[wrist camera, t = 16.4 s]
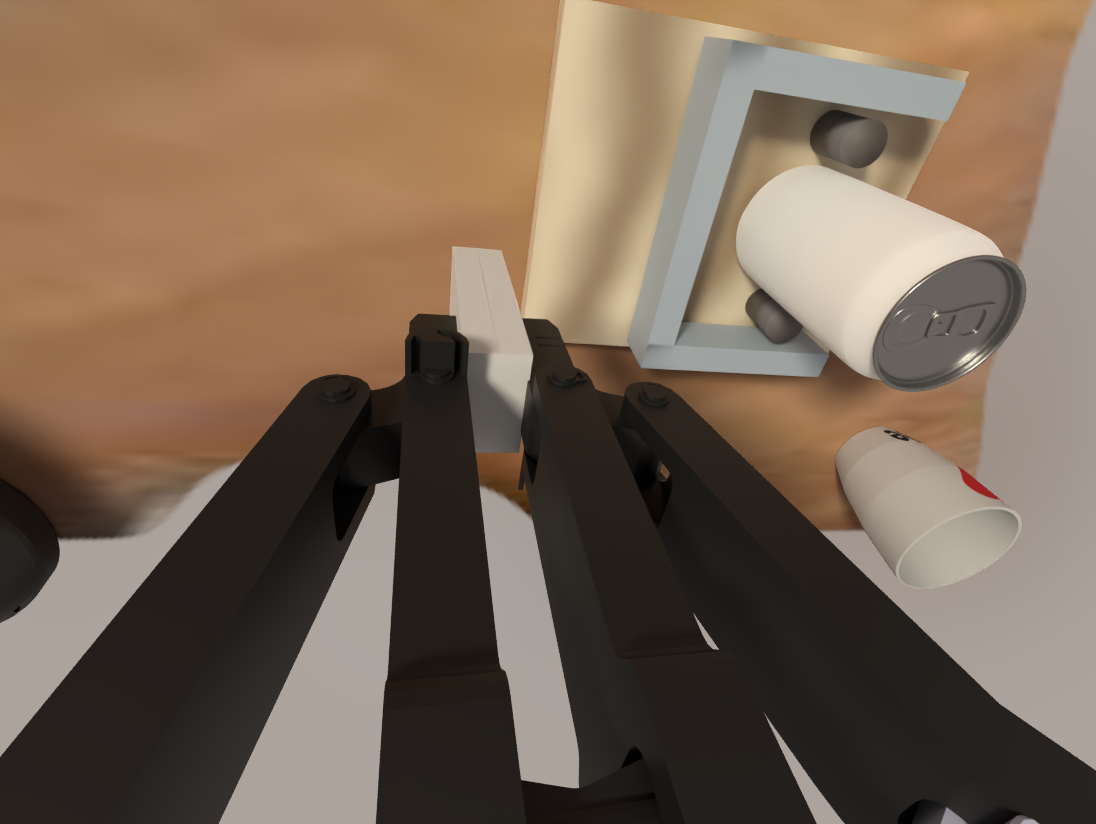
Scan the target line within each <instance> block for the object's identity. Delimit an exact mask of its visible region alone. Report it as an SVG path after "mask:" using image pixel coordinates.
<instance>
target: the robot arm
mask: <svg viewBox="0 0 1096 824" xmlns="http://www.w3.org/2000/svg"><path fill="white" fill-rule="evenodd" d="M521 436H522V440H523V444H524V453H523V459H522V466H521V472H520V479H519V487H518V490H523V485H524V483H525V484H526V489H527V494H528V499H529V504H530V509H531V514H532V519H533V524H534V529H535V534H536V538H537V544H538V549H539V553H540V559H541V564H542V569H543V574H544V578H545V584H546V589H547V593H548V598H549V603H550V608H551V613H552V618H553V623H554V628H555V633H556V638H557V642H558V647H559V653H560V658H561V663H562V668H563V672H564V678H565V683H566V688H567V692H568V697H569V702H570V708H571V713H572V718H573V722H574V727H575V732H576V737H577V743H578V749H579V788H566V787H560V786H554V785H548V784H541V783H535V782H529V781H523V780H521V776H520V769H519V760H518V752H517V744H516V736H515V728H514V720H513V712H512V704H511V696H510V689H509V683H508V679H507V675H506V672H505V671H504V670H502V669H501V667H500V664H499V657H498V649H497V640H496V631H495V622H494V614H493V604H492V595H491V586H490V578H489V568H488V560H487V551H486V542H485V533H484V524H483V515H482V506H481V498H480V488H479V479H478V470H477V461H476V453H519V450H520V443H521ZM662 464H664V465H665V467H666V468H667V469H668V471H669V472H670V475H669V477H668V479H666V478H665V477H664V476H663V475H662V473H661V472H660V470H661V467H662ZM398 478H399V491H398V509H397V510H398V511H397V526H396V543H395V561H394V578H393V596H392V612H391V613H392V614H391V629H390V647H389V665H388V676H387V680H386V683H385V691H384V703H383V718H382V735H381V750H380V766H379V782H378V799H377V815H376V824H816V821H815V819H814V817H813V815H812V813H811V811H810V809H809V807H808V805H807V802H806V800H805V798H804V796H803V794H802V792H801V790H800V788H799V786H798V784H797V781H796V779H795V777H794V776H793V773H792V771H791V769H790V767H789V765H788V763H787V760H786V759H785V756H784V754H783V752H782V750H781V748H780V746H779V744H778V741H777V740H776V737H775V735H774V733H773V731H772V729H771V727H770V725H769V723H768V721H767V718H768V719H769V721H770V722H771V723H772V725H773V726H774V728H775V729H776V730H777V732H778V733H779V735H780V736H781V737H782V739H783V740H784V742H785V743H786V745H787V746H788V747H789V749H790V750H791V752H792V753H793V754H794V756H795V757H796V759H797V760H798V762H799V763H800V764H801V766H802V767H803V769H804V770H805V771H806V773H807V774H808V776H809V777H810V779H811V780H812V781H813V783H814V784H815V785H816V787H817V788H818V790H819V791H820V792H821V793H822V795H823V796H824V797H825V799H826V800H827V801H828V803H829V804H830V805H831V807H832V808H833V809H834V810H835V812H836V813H837V814H838V816H839V817H840V818H841V820H842V821H843V822H844V823H845V824H1096V770H1094V769H1093V768H1091V767H1090V766H1088V765H1087V764H1085V763H1084V762H1083V761H1081V760H1080V759H1078V758H1077V757H1075V756H1074V755H1072V754H1071V753H1070V752H1068V751H1067V750H1065V749H1064V748H1062V747H1061V746H1059V745H1058V744H1057V743H1055V742H1054V741H1052V740H1051V739H1049V738H1048V737H1046V736H1045V735H1043V734H1042V733H1041V732H1039V731H1038V730H1036V729H1035V728H1033V727H1032V726H1030V725H1029V724H1028V723H1026V722H1025V721H1023V720H1022V719H1020V718H1019V717H1017V716H1016V715H1015V714H1013V713H1012V712H1010V711H1009V710H1007V709H1006V708H1005V707H1003V706H1002V705H1000V704H999V703H998V702H997V701H996V700H995V699H994V698H993V697H992V696H991V695H990V694H989V693H988V692H987V691H985V690H984V689H983V688H982V687H981V686H980V685H979V684H978V683H977V682H976V681H975V680H974V679H973V678H972V677H971V676H970V675H969V674H968V673H967V672H966V671H965V670H964V669H963V668H962V667H961V666H959V665H958V664H957V663H956V662H955V661H954V660H953V659H952V658H951V657H950V656H949V655H948V654H947V653H946V652H945V651H944V650H943V649H942V648H941V647H940V646H939V645H938V644H937V643H936V642H935V641H933V640H932V639H931V638H930V637H929V636H928V635H927V634H926V633H925V632H924V631H923V630H922V629H921V628H920V627H919V626H918V625H917V624H916V623H915V622H914V621H913V620H912V619H910V617H908V616H907V615H906V614H905V613H904V612H903V611H902V610H901V609H900V608H899V607H898V606H897V605H896V604H895V603H894V602H893V601H892V600H891V599H890V598H888V596H886V594H885V593H884V592H882V591H881V590H880V589H879V588H878V587H877V586H876V585H875V584H874V583H873V582H872V581H871V580H870V579H869V578H868V577H866V575H865V574H864V573H863V572H862V571H861V570H859V568H858V567H856V566H855V565H854V564H853V563H852V562H851V561H850V560H849V559H848V558H847V557H846V556H845V555H844V554H843V553H842V552H841V551H840V550H839V549H838V548H837V547H836V546H835V545H834V544H833V543H831V541H829V540H828V539H827V538H826V537H825V536H824V535H823V534H822V533H821V532H820V531H819V530H818V529H817V528H816V527H815V526H814V525H813V524H812V523H811V522H810V521H809V520H808V519H807V518H806V517H805V516H803V515H802V514H801V513H800V512H799V511H798V510H797V509H796V508H795V507H794V506H793V505H792V504H791V503H790V502H789V501H788V500H787V499H786V498H785V497H784V496H783V495H782V494H781V493H780V492H778V491H777V490H776V489H775V488H774V487H773V486H772V485H771V484H770V483H769V482H768V481H767V480H766V479H765V478H764V477H763V476H762V475H761V474H760V473H759V472H758V471H757V470H756V469H755V468H754V467H752V466H751V465H750V464H749V463H748V462H747V461H746V460H745V459H744V458H743V457H742V456H741V455H740V454H739V453H738V452H737V451H736V450H735V449H734V448H733V447H732V446H731V445H730V444H729V443H728V442H726V441H725V440H724V439H723V438H722V437H721V436H720V435H719V434H718V433H717V432H716V431H715V430H714V429H713V428H712V427H711V426H710V425H709V424H708V423H707V422H706V421H705V420H704V419H703V418H702V417H700V416H699V415H698V414H697V413H696V412H695V411H694V410H693V409H692V408H691V407H690V406H689V405H688V404H687V403H686V402H685V401H684V400H683V399H682V398H681V397H680V396H679V395H678V394H676V393H675V392H673V391H672V390H671V389H669V388H667V387H664V386H662V385H661V384H658V383H653V382H637V383H633V384H630V385H629V386H628V387H627V388H626V391H625V394H624V397H622V396H618V395H613V394H609V393H605V392H601V391H598V390H596V389H595V387H594V385H593V383H592V381H591V379H590V378H589V376H588V375H587V374H586V373H584V372H583V371H581V370H580V369H578V368H575V367H574V366H573V364H572V361H571V359H570V356H569V354H568V351H567V349H566V347H565V344H564V342H563V340H562V337H561V334H560V332H559V329H558V328H557V327H556V326H555V325H554V324H552V323H551V322H550V321H549V320H548V319H532V318H522V317H521V314H520V310H519V307H518V304H517V300H516V297H515V294H514V291H513V287H512V284H511V281H510V277H509V274H508V271H507V268H506V264H505V261H504V258H503V254H502V251H501V250H491V249H479V248H467V247H455V246H453V248H452V271H451V293H450V315H433V314H418V315H416V316H415V317H414V318H413V319H412V320H411V321H410V327H409V334H408V336H407V338H406V340H405V377H404V378H403V379H402V380H401V381H399V382H398V383H396V384H394V385H392V386H390V387H386V388H382V389H378V390H371V389H370V387H369V385H368V384H367V383H366V382H364V381H363V380H361V379H360V378H357V377H353V376H349V375H339V374H336V375H327V376H322V377H320V378H317V379H314V380H312V381H310V382H309V383H307V384H306V385H305V386H304V387H303V388H302V389H301V390H300V391H299V393H298V394H297V395H296V396H295V397H294V399H293V400H292V401H291V402H290V404H289V405H288V406H287V407H286V408H285V410H284V411H283V412H282V413H281V415H280V416H279V417H278V418H277V419H276V421H275V422H274V423H273V424H272V426H271V427H270V428H269V429H268V430H267V432H266V433H265V434H264V435H263V437H262V438H261V439H260V440H259V441H258V443H257V444H256V445H255V446H254V448H253V449H252V450H251V451H250V452H249V454H248V455H247V456H246V457H245V459H244V460H243V461H242V462H241V463H240V465H239V466H238V467H237V468H236V470H235V471H234V472H233V473H232V474H231V476H230V477H229V478H228V479H227V481H226V482H225V483H224V484H223V486H222V487H221V488H220V489H219V490H218V492H217V493H216V494H215V495H214V497H213V498H212V499H211V500H210V501H209V503H208V504H207V505H206V506H205V507H204V509H203V510H202V511H201V512H200V514H199V515H198V516H197V517H196V519H195V520H194V521H193V522H192V523H191V525H190V526H189V527H188V528H187V530H186V531H185V532H184V533H183V534H182V536H181V537H180V538H179V539H178V540H177V542H176V543H175V544H174V545H173V547H172V548H171V549H170V550H169V551H168V553H167V554H166V555H165V556H164V558H163V559H162V560H161V561H160V562H159V564H158V565H157V566H156V567H155V569H154V570H153V571H152V572H151V574H150V575H149V576H148V577H147V578H146V580H145V581H144V582H143V583H142V584H141V586H140V587H139V588H138V589H137V590H136V592H135V593H134V594H133V595H132V597H131V598H130V599H129V600H128V601H127V603H126V604H125V605H124V606H123V608H122V609H121V610H120V611H119V612H118V614H117V615H116V616H115V617H114V619H113V620H112V621H111V622H110V624H109V625H108V626H107V627H106V628H105V630H104V631H103V632H102V633H101V634H100V636H99V637H98V638H97V639H96V641H95V642H94V643H93V644H92V645H91V647H90V648H89V649H88V650H87V652H86V653H85V654H84V655H83V656H82V658H81V659H80V660H79V661H78V663H77V664H76V665H75V666H74V667H73V669H72V670H71V671H70V672H69V674H68V675H67V676H66V677H65V678H64V680H63V681H62V682H61V684H60V685H59V686H58V687H57V688H56V689H55V691H54V692H53V693H52V694H51V696H50V697H49V698H48V700H46V702H45V703H44V704H43V705H42V707H41V708H40V709H39V710H38V712H37V713H36V714H35V715H34V716H33V718H32V719H31V720H30V721H29V723H28V724H27V725H26V726H25V727H24V729H23V730H22V731H21V732H20V733H19V735H18V736H17V737H16V738H15V740H14V741H13V742H12V743H11V744H10V746H9V747H8V748H7V749H6V751H5V752H4V753H3V754H2V755H1V757H0V824H219V822H220V820H221V817H222V815H223V813H224V811H225V809H226V807H227V805H228V803H229V800H230V798H231V796H232V794H233V792H234V790H235V788H236V786H237V784H238V781H239V779H240V777H241V775H242V773H243V771H244V768H245V766H246V764H247V762H248V760H249V758H250V756H251V754H252V752H253V750H254V747H255V745H256V743H257V741H258V739H259V737H260V735H261V732H262V730H263V728H264V726H265V724H266V722H267V720H268V718H269V716H270V713H271V711H272V709H273V707H274V705H275V703H276V700H277V699H278V696H279V694H280V692H281V690H282V688H283V686H284V684H285V682H286V679H287V677H288V675H289V673H290V671H291V669H292V667H293V664H294V662H295V660H296V658H297V656H298V654H299V652H300V650H301V647H302V645H303V643H304V641H305V639H306V637H307V634H308V633H309V630H310V628H311V626H312V624H313V622H314V620H315V618H316V615H317V613H318V611H319V609H320V607H321V605H322V603H323V601H324V599H325V597H326V594H327V592H328V590H329V588H330V586H331V584H332V582H333V579H334V577H335V575H336V573H337V571H338V569H339V567H340V565H341V562H342V560H343V558H344V556H345V554H346V552H347V550H348V547H349V546H350V543H351V541H352V539H353V537H354V535H355V533H356V531H357V529H358V526H359V524H360V522H361V520H362V518H363V516H364V513H365V511H366V509H367V507H368V505H369V503H370V501H371V499H372V497H373V495H374V491H375V484H378V483H382V482H386V481H390V480H394V479H398ZM59 552H60V550H59V543H58V540H57V537H56V534H55V532H54V530H53V528H52V527H51V525H50V523H49V522H48V521H47V519H46V518H45V517H44V516H43V515H42V513H41V512H40V511H39V510H38V509H37V508H36V507H35V506H34V505H33V504H32V503H30V502H29V501H28V500H27V499H26V498H24V497H23V496H22V495H21V494H19V493H18V492H16V491H15V490H14V489H12V488H11V487H9V486H7V485H6V484H4V483H3V482H1V481H0V623H1V622H3V621H5V620H7V619H9V618H11V617H13V616H14V615H15V614H17V613H18V612H20V611H21V610H22V609H23V608H25V607H26V606H27V605H28V604H29V603H30V602H31V601H32V600H33V599H34V598H35V597H36V596H37V594H38V593H39V592H40V590H41V589H42V587H43V586H44V584H45V583H46V582H47V580H48V579H49V577H50V576H51V574H52V573H53V572H54V570H55V568H56V567H57V564H58V561H59V554H60V553H59ZM693 613H694V614H695V616H696V617H697V619H698V620H699V621H700V623H701V624H702V626H703V627H704V629H705V630H706V631H707V633H708V634H709V636H710V637H711V638H712V640H713V641H714V643H715V644H716V646H717V647H718V648H719V650H714V649H712V648H711V647H710V646H709V645H708V644H707V642H706V641H705V639H704V637H703V635H702V633H701V630H700V628H699V626H698V623H697V621H696V619H695V617H694V614H693ZM764 713H765V714H764ZM765 715H766V716H767V718H766V716H765Z"/></svg>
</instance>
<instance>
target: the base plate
mask: <svg viewBox="0 0 1096 824" xmlns="http://www.w3.org/2000/svg"><path fill="white" fill-rule="evenodd" d="M705 36H706V37H715V38H723V39H732V40H738V41H743V42H749V43H754V44H759V45H765V46H770V47H776V48H781V49H787V50H792V51H797V52H803V53H808V54H814V55H819V56H825V57H830V58H836V59H841V60H846V61H852V62H857V63H863V64H868V65H874V66H879V67H885V68H890V69H895V70H901V71H906V72H912V73H917V74H923V75H928V76H933V77H939V78H944V79H950V80H955V81H961V82H965V80H966V78H967V76H968V74H969V72H967V71H962V70H957V69H951V68H946V67H941V66H935V65H930V64H925V63H920V62H914V61H909V60H904V59H898V58H893V57H888V56H882V55H877V54H872V53H867V52H861V51H856V50H851V49H845V48H840V47H835V46H829V45H824V44H819V43H814V42H808V41H803V40H798V39H792V38H787V37H782V36H776V35H771V34H766V33H761V32H755V31H750V30H745V29H739V28H734V27H729V26H724V25H718V24H713V23H708V22H702V21H697V20H692V19H686V18H681V17H676V16H671V15H665V14H660V13H655V12H649V11H644V10H639V9H633V8H628V7H623V6H618V5H612V4H607V3H602V2H596V1H591V0H560V3H559V11H558V19H557V27H556V35H555V43H554V51H553V59H552V67H551V75H550V83H549V91H548V99H547V107H546V115H545V123H544V131H543V139H542V146H541V154H540V162H539V170H538V178H537V186H536V194H535V202H534V210H533V218H532V226H531V234H530V242H529V250H528V258H527V266H526V274H525V282H524V290H523V298H522V306H521V317H522V318H532V319H548V320H549V321H550V322H551V323H552V324H554V325H555V326H556V327H557V328H558V329H559V332H560V334H561V337H562V340H563V342H564V343H578V344H595V345H612V346H629V344H628V343H627V339H628V335H629V331H630V327H631V323H632V319H633V315H634V311H635V307H636V304H637V300H638V296H639V292H640V288H641V284H642V280H643V276H644V272H645V268H646V264H647V261H648V257H649V253H650V249H651V245H652V241H653V237H654V233H655V229H656V225H657V221H658V218H659V214H660V210H661V206H662V202H663V198H664V194H665V190H666V186H667V182H668V178H669V175H670V171H671V167H672V163H673V159H674V155H675V151H676V147H677V143H678V139H679V135H680V132H681V128H682V124H683V120H684V116H685V112H686V108H687V104H688V100H689V96H690V92H691V89H692V85H693V81H694V77H695V73H696V69H697V65H698V61H699V57H700V53H701V49H702V46H703V42H704V38H705ZM944 122H945V121H942V120H936V119H930V118H924V117H918V116H912V115H906V114H899V113H893V112H887V111H881V110H875V109H869V108H863V107H857V106H851V105H845V104H839V103H833V102H827V101H821V100H815V99H809V98H803V97H797V96H791V95H785V94H779V93H773V92H767V91H760V90H754V92H753V95H752V98H751V102H750V105H749V108H748V111H747V114H746V117H745V121H744V124H743V127H742V130H741V133H740V137H739V140H738V143H737V146H736V149H735V153H734V156H733V159H732V162H731V165H730V169H729V172H728V175H727V178H726V181H725V184H724V188H723V191H722V194H721V197H720V200H719V204H718V207H717V210H716V213H715V216H714V220H713V223H712V226H711V229H710V232H709V236H708V239H707V242H706V245H705V248H704V252H703V255H702V258H701V261H700V264H699V267H698V271H697V274H696V277H695V280H694V283H693V287H692V290H691V293H690V296H689V299H688V303H687V306H686V309H685V312H684V315H683V319H682V322H693V323H707V324H721V325H735V326H749V327H760V328H761V329H762V330H763V331H764V332H765V333H766V334H767V336H768V337H769V338H770V339H771V340H772V341H774V342H776V343H785V342H788V341H790V340H792V339H794V338H795V337H796V336H797V335H798V334H799V333H800V332H801V330H803V331H804V332H805V333H806V334H807V335H808V336H809V337H810V338H812V339H813V340H814V341H815V342H816V343H817V344H818V345H819V346H820V347H821V348H822V349H824V350H825V351H826V352H827V353H829V351H830V350H829V349H828V348H827V347H826V346H825V345H824V344H823V343H822V342H821V341H819V340H818V339H817V338H816V337H815V336H814V335H813V334H812V333H811V332H809V331H808V330H807V329H806V328H805V327H804V326H803V325H802V324H801V323H799V322H798V321H797V320H796V319H795V318H794V317H793V316H792V315H791V314H789V313H788V312H787V311H786V310H785V309H784V308H783V307H782V306H781V305H780V304H778V303H777V302H776V301H775V300H774V299H773V298H772V297H771V296H770V295H769V294H768V293H766V292H765V291H764V290H763V289H762V288H761V287H760V286H759V285H758V284H757V283H756V282H755V281H753V280H752V279H751V278H750V277H749V276H748V275H747V273H746V272H745V271H744V270H743V268H742V267H741V265H740V263H739V260H738V257H737V252H736V234H737V228H738V224H739V221H740V219H741V216H742V214H743V212H744V210H745V209H746V207H747V206H748V204H749V203H750V201H751V200H752V198H753V197H754V196H755V195H756V193H757V192H758V191H759V190H760V189H761V188H762V187H763V186H764V185H766V184H767V183H768V182H769V181H770V180H772V179H773V178H775V177H776V176H778V175H780V174H781V173H783V172H785V171H788V170H790V169H793V168H796V167H800V166H805V165H818V166H824V167H827V168H830V169H833V170H835V171H838V172H840V173H843V174H845V175H848V176H850V177H853V178H855V179H857V180H860V181H862V182H865V183H867V184H869V185H872V186H874V187H876V188H879V189H881V190H884V191H886V192H888V193H891V194H893V195H895V196H898V197H900V198H902V199H906V197H907V195H908V193H909V191H910V189H911V187H912V185H913V183H914V181H915V179H916V177H917V176H918V174H919V172H920V170H921V168H922V166H923V164H924V162H925V160H926V158H927V156H928V154H929V152H930V150H931V148H932V146H933V144H934V142H935V140H936V138H937V136H938V134H939V132H940V130H941V128H942V126H943V124H944ZM629 347H630V346H629Z"/></svg>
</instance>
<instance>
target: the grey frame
mask: <svg viewBox="0 0 1096 824" xmlns="http://www.w3.org/2000/svg"><path fill="white" fill-rule="evenodd" d="M965 85H966V82H961V81H955V80H950V79H944V78H939V77H933V76H928V75H923V74H917V73H912V72H906V71H901V70H895V69H890V68H885V67H879V66H874V65H868V64H863V63H857V62H852V61H846V60H841V59H836V58H830V57H825V56H819V55H814V54H808V53H803V52H797V51H792V50H787V49H781V48H776V47H770V46H765V45H759V44H754V43H749V42H743V41H738V40H732V39H723V38H715V37H706V36H705V38H704V42H703V46H702V49H701V53H700V57H699V61H698V65H697V69H696V73H695V77H694V81H693V85H692V89H691V92H690V96H689V100H688V104H687V108H686V112H685V116H684V120H683V124H682V128H681V132H680V135H679V139H678V143H677V147H676V151H675V155H674V159H673V163H672V167H671V171H670V175H669V178H668V182H667V186H666V190H665V194H664V198H663V202H662V206H661V210H660V214H659V218H658V221H657V225H656V229H655V233H654V237H653V241H652V245H651V249H650V253H649V257H648V261H647V264H646V268H645V272H644V276H643V280H642V284H641V288H640V292H639V296H638V300H637V304H636V307H635V311H634V315H633V319H632V323H631V327H630V331H629V335H628V339H627V343H628V344H629V346H630V348H631V350H632V352H633V354H634V356H635V358H636V360H637V362H638V363H639V365H640V367H641V368H651V369H670V370H689V371H709V372H728V373H747V374H767V375H786V376H806V377H819V375H820V373H821V371H822V369H823V367H824V365H825V363H826V361H827V359H828V357H829V354H828V353H827V352H826V351H825V350H824V349H822V348H821V347H820V346H819V345H818V344H817V343H816V342H815V341H814V340H813V339H812V338H810V337H809V336H808V335H807V334H806V333H805V332H804V331H803V330H801V332H800V333H799V334H798V335H797V336H796V337H795V338H794V339H792V340H790V341H788V342H785V343H776V342H774V341H772V340H771V339H770V338H769V337H768V336H767V334H766V333H765V332H764V331H763V330H762V329H761V328H760V327H749V326H735V325H721V324H707V323H693V322H682V319H683V315H684V312H685V309H686V306H687V303H688V299H689V296H690V293H691V290H692V287H693V283H694V280H695V277H696V274H697V271H698V267H699V264H700V261H701V258H702V255H703V252H704V248H705V245H706V242H707V239H708V236H709V232H710V229H711V226H712V223H713V220H714V216H715V213H716V210H717V207H718V204H719V200H720V197H721V194H722V191H723V188H724V184H725V181H726V178H727V175H728V172H729V169H730V165H731V162H732V159H733V156H734V153H735V149H736V146H737V143H738V140H739V137H740V133H741V130H742V127H743V124H744V121H745V117H746V114H747V111H748V108H749V105H750V102H751V98H752V95H753V92H754V90H760V91H767V92H773V93H779V94H785V95H791V96H797V97H803V98H809V99H815V100H821V101H827V102H833V103H839V104H845V105H851V106H857V107H863V108H869V109H875V110H881V111H887V112H893V113H899V114H906V115H912V116H918V117H924V118H930V119H936V120H942V121H948V119H949V117H950V115H951V113H952V111H953V109H954V107H955V105H956V103H957V101H958V99H959V97H960V95H961V93H962V91H963V89H964V87H965Z"/></svg>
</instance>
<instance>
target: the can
mask: <svg viewBox="0 0 1096 824" xmlns="http://www.w3.org/2000/svg"><path fill="white" fill-rule="evenodd" d="M736 252H737V257H738V260H739V263H740V265H741V267H742V268H743V270H744V271H745V272H746V273H747V275H748V276H749V277H750V278H751V279H752V280H753V281H755V282H756V283H757V284H758V285H759V286H760V287H761V288H762V289H763V290H764V291H765V292H766V293H768V294H769V295H770V296H771V297H772V298H773V299H774V300H775V301H776V302H777V303H778V304H780V305H781V306H782V307H783V308H784V309H785V310H786V311H787V312H788V313H789V314H791V315H792V316H793V317H794V318H795V319H796V320H797V321H798V322H799V323H801V324H802V325H803V326H804V327H805V328H806V329H807V330H808V331H809V332H811V333H812V334H813V335H814V336H815V337H816V338H817V339H818V340H819V341H821V342H822V343H823V344H824V345H825V346H826V347H827V348H828V349H829V350H831V351H832V352H833V353H834V354H835V355H836V356H837V357H839V358H840V359H841V360H842V361H843V362H844V363H846V364H847V365H848V366H849V367H850V368H852V369H853V370H855V371H856V372H858V373H859V374H861V375H863V376H866V377H869V378H872V379H876V380H881V381H883V382H884V383H885V384H886V385H888V386H889V387H891V388H894V389H896V390H900V391H906V392H919V391H926V390H931V389H935V388H938V387H941V386H944V385H946V384H949V383H951V382H953V381H955V380H957V379H959V378H961V377H963V376H964V375H966V374H968V373H969V372H971V371H972V370H974V369H975V368H977V367H978V366H979V365H981V364H982V363H983V362H984V361H985V360H987V359H988V358H989V357H990V356H991V355H992V354H993V353H994V352H995V351H996V350H997V349H998V348H999V347H1000V346H1001V345H1002V344H1003V342H1004V341H1005V340H1006V339H1007V337H1008V336H1009V335H1010V333H1011V332H1012V330H1013V328H1014V327H1015V325H1016V323H1017V321H1018V319H1019V317H1020V315H1021V313H1022V310H1023V307H1024V303H1025V298H1026V283H1025V279H1024V276H1023V274H1022V272H1021V270H1020V269H1019V268H1018V267H1017V265H1015V264H1014V263H1013V262H1011V261H1010V260H1008V259H1006V258H1004V257H1003V255H1002V254H1001V252H1000V250H999V249H998V247H997V246H996V245H995V244H994V243H993V242H992V241H991V240H990V239H989V238H987V237H986V236H984V235H983V234H981V233H979V232H977V231H975V230H973V229H971V228H969V227H967V226H965V225H962V224H960V223H958V222H956V221H953V220H951V219H949V218H947V217H944V216H942V215H940V214H937V213H935V212H933V211H930V210H928V209H926V208H923V207H921V206H919V205H916V204H914V203H912V202H909V201H907V200H905V199H902V198H900V197H898V196H895V195H893V194H891V193H888V192H886V191H884V190H881V189H879V188H876V187H874V186H872V185H869V184H867V183H865V182H862V181H860V180H857V179H855V178H853V177H850V176H848V175H845V174H843V173H840V172H838V171H835V170H833V169H830V168H827V167H824V166H818V165H805V166H800V167H796V168H793V169H790V170H788V171H785V172H783V173H781V174H780V175H778V176H776V177H775V178H773V179H772V180H770V181H769V182H768V183H767V184H766V185H764V186H763V187H762V188H761V189H760V190H759V191H758V192H757V193H756V195H755V196H754V197H753V198H752V200H751V201H750V203H749V204H748V206H747V207H746V209H745V210H744V212H743V214H742V216H741V219H740V221H739V224H738V228H737V234H736Z"/></svg>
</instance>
